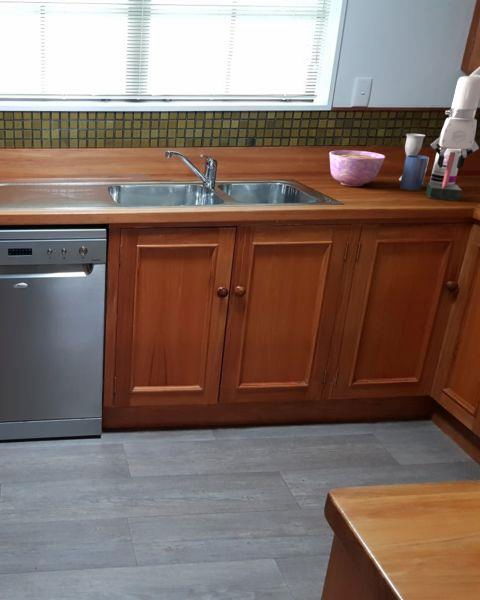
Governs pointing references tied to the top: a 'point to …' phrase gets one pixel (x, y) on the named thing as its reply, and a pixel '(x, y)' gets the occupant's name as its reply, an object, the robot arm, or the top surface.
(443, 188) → the straw stand
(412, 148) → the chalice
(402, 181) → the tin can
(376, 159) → the bowl of food
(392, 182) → the top surface
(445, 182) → the straw
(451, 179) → the supplement can
